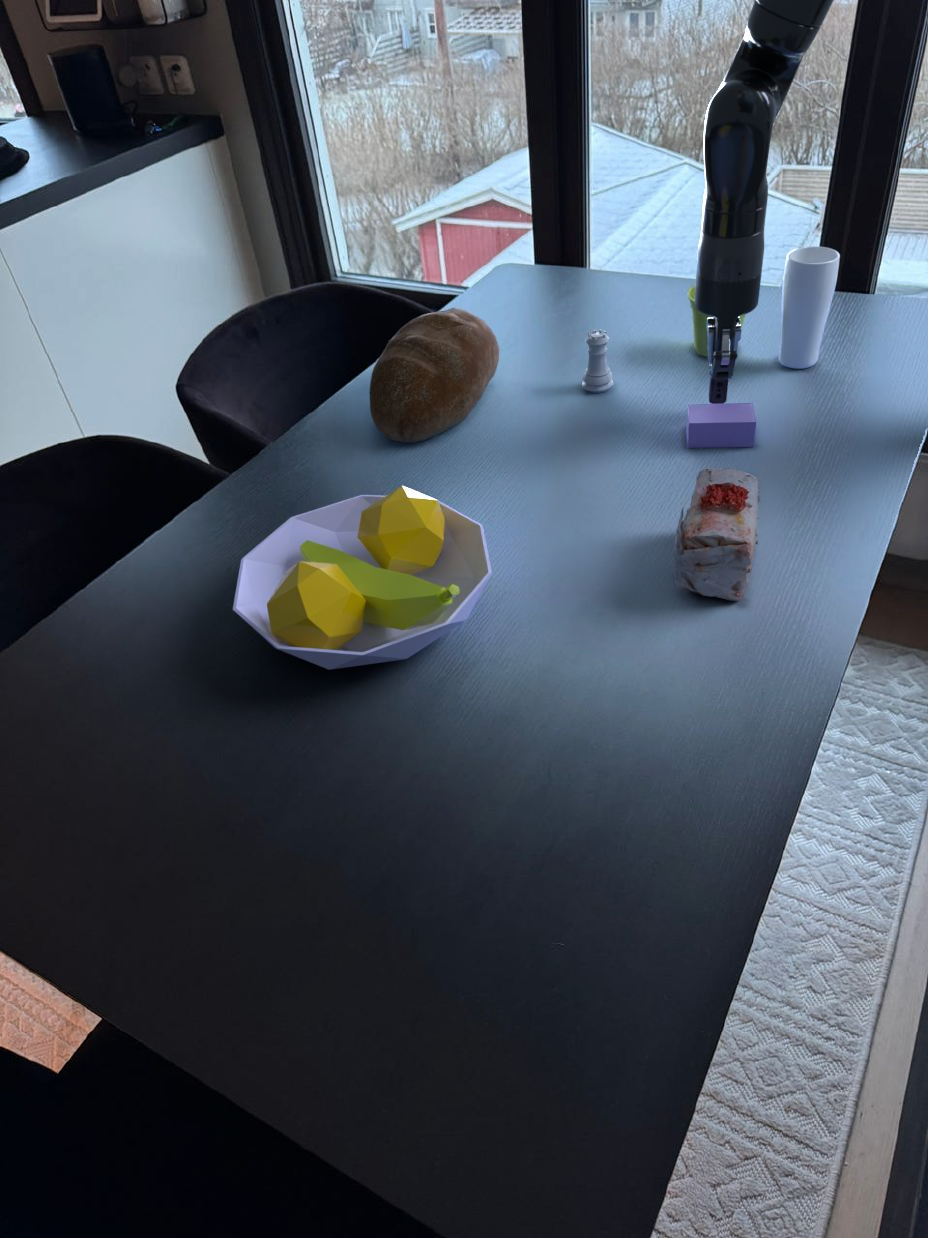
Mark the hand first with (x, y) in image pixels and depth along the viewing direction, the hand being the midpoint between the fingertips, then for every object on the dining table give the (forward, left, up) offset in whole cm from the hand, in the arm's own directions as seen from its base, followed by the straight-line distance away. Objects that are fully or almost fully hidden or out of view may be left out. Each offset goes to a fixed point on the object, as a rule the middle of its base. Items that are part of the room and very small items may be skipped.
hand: (717, 400), depth 116 cm
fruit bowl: (+37, +42, -2) cm, 56 cm away
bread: (+39, -6, -2) cm, 39 cm away
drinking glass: (-12, -15, -2) cm, 19 cm away
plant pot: (-1, -20, -2) cm, 20 cm away
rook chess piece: (+16, -9, -2) cm, 18 cm away
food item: (+2, +33, -2) cm, 33 cm away
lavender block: (0, +6, -2) cm, 7 cm away
